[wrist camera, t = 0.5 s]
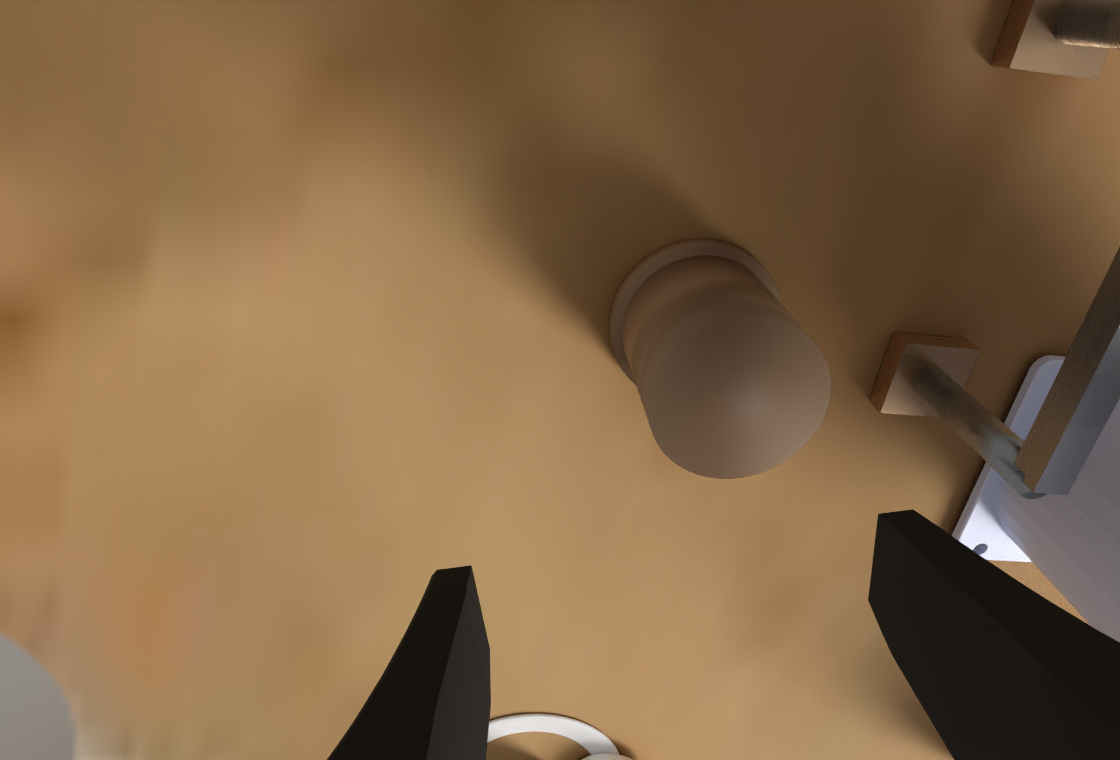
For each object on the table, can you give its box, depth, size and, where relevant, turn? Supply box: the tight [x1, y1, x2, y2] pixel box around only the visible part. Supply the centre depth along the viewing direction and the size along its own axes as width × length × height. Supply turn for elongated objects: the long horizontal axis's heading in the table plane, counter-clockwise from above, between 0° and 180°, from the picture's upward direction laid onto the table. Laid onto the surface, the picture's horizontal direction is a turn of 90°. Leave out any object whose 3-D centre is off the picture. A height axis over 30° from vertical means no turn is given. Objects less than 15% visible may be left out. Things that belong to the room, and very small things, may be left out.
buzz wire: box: [869, 0, 1120, 499], centre depth 16 cm, size 7×20×6 cm, turn 173°
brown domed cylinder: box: [609, 238, 831, 479], centre depth 20 cm, size 5×5×5 cm
